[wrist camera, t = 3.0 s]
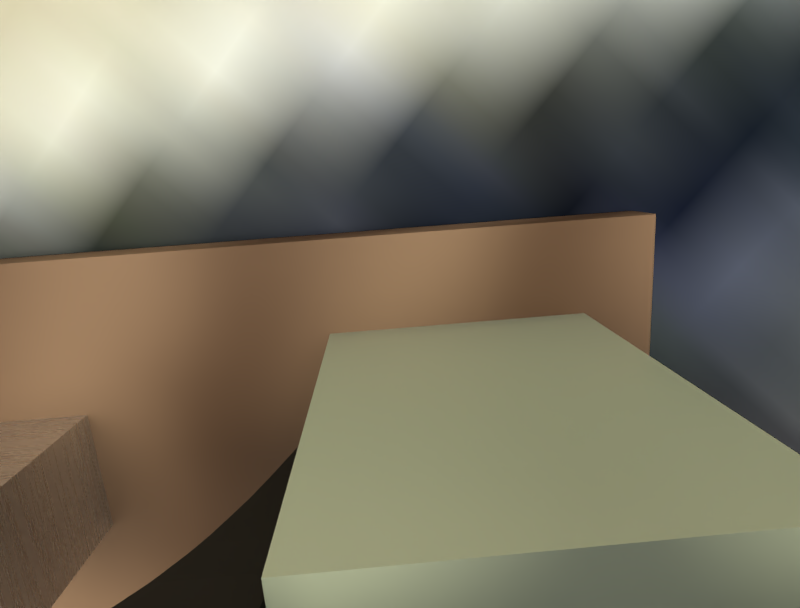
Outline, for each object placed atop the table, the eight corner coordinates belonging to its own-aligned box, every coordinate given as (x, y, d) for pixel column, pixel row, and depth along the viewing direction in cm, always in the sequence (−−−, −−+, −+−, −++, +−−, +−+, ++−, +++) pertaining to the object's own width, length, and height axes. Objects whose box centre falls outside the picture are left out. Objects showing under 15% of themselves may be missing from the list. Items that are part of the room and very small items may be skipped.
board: (631, 211, 11) (655, 213, 10) (619, 565, 13) (637, 595, 12) (-182, 272, 11) (-237, 282, 10) (-58, 630, 13) (-94, 667, 12)
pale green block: (584, 312, 11) (896, 517, 4) (581, 532, 12) (818, 943, 6) (329, 333, 11) (261, 578, 4) (353, 553, 12) (328, 1001, 5)
